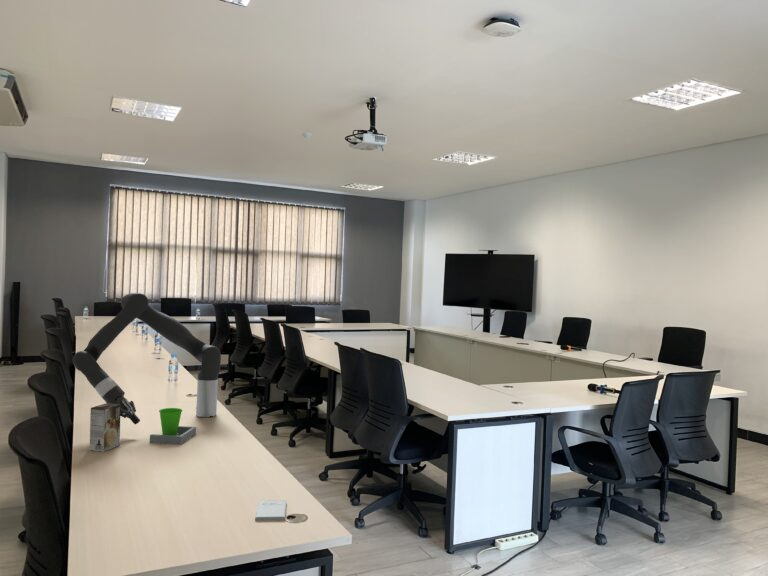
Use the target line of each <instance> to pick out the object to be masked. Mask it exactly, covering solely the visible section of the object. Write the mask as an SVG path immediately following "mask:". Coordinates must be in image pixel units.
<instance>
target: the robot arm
mask: <svg viewBox="0 0 768 576" xmlns="http://www.w3.org/2000/svg"><path fill="white" fill-rule="evenodd" d="M120 307H121V310H120V311H119V312H118V313H117V314H116V315H115V317H114V318H112V319H111V320H109V322H107V323H106V324H104V325H103V327H101V328H100V329H99V330H98V331H97V332H96V333H95V334H94V336H93V337H92V338H90V340H89V341H88V344H87V346H86V347H85V348H84V349H83V350H80V351H77V352H75V354H74V355H73V357H72V364H73V366H74V368H75V369H76V370H77V371H79V372H81V373H82V374H83V376H84V377H85V378H86V379H87V382H89V384H90V385H91V387H93V389H94V390H95V391H96V392H97V394H98V395H99V396H100V397H101V398H102V400H104V402H105V403H112V404H121V412H120V417H121V418H123V419H126V418H127V419H130V421H131V422H132V423H133V424H134V425H137V424H139V423H140V422H141V418H139V417H138V415H136V411H137V409H136V406H135V403H134V401H133V400H130V401H129V400H128V398H126V397H125V391H124V390H123V389H122V388H121V387H120V386H119V384H117V381H115V380H114V379H112V377H111V376H110V375H109V374H108V373H107V372H106V371H105V370H104V369H103V368H102V367H101V365H100V364H99V363H98V362H97V361H98V360H99V359H100V356H101V355H102V354H103V352H105V351H106V350H107V349H108V347H109V346H110V345H111V344H112V343H113V342H114V341H115V340H116V338H117V337H118V336H119V335H120V334H121V333H122V332H123V330H125V328H127V326H129V325H130V324H131V323H132V322H133V321H135V320H136V319H138V320H140V321H141V322H143V323H144V324H146V325H147V326H149V328H151V329H152V330H154V331H155V332H157V333H158V334H159V335H160V336H162V337H163V338H165V339H166V340H168V341H169V342H171V343H173V344H174V345H175V346H177V347H180V348H181V349H183V350H185V351H186V352H188V353H189V354H190V355H192V356H193V357H194V359H196V360H197V361H198V362H200V363H201V367H200V372H198V374H197V382H196V383H197V387H196V390H197V391H196V406H195V407H196V409H195V411H196V412H195V416H196V417H200V418H211V417H210V416H213V417H216V416H217V411H218V410H217V409H218V408H217V407H218V406H217V405H218V386H219V385H218V384H219V383H218V382H219V375H220V371H221V361H222V355H221V350H220V348H218V347H217V346H215V345H210V344H208V343H206V342H204V341H202V340H200V339H198V338H197V336H194V335H193V334H192V332H191V331H190V330H189V329H188V328H187V327H186V326H185V325H184V324H182V323H181V322H180V321H178V320H177V319H176V318H174V317H172V316H169V315H168V314H166V313H164V312H161V311H159V310H156V309H155V308H154V307H152V306H150V305H149V299H148V297H147V295H146V294H144V293H142V292H141V293H140V292H133V293H132V292H131V293H127V294H125V295H124V296H123V297H122V298H121V301H120ZM215 415H216V416H215Z"/></svg>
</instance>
